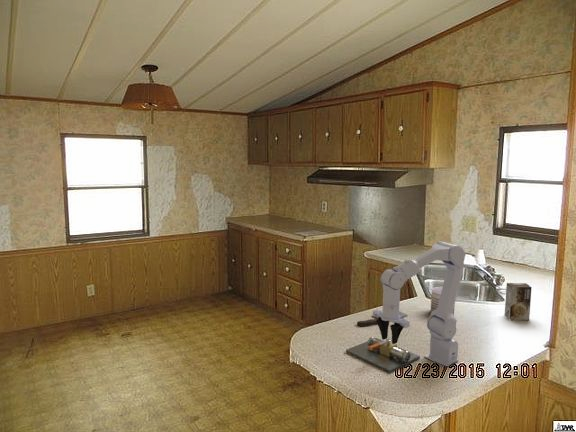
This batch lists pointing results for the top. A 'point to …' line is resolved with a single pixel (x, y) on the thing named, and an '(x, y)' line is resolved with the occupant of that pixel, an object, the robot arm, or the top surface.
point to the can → (436, 298)
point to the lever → (379, 344)
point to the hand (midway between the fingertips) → (389, 340)
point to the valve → (383, 355)
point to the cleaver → (373, 321)
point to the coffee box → (518, 301)
